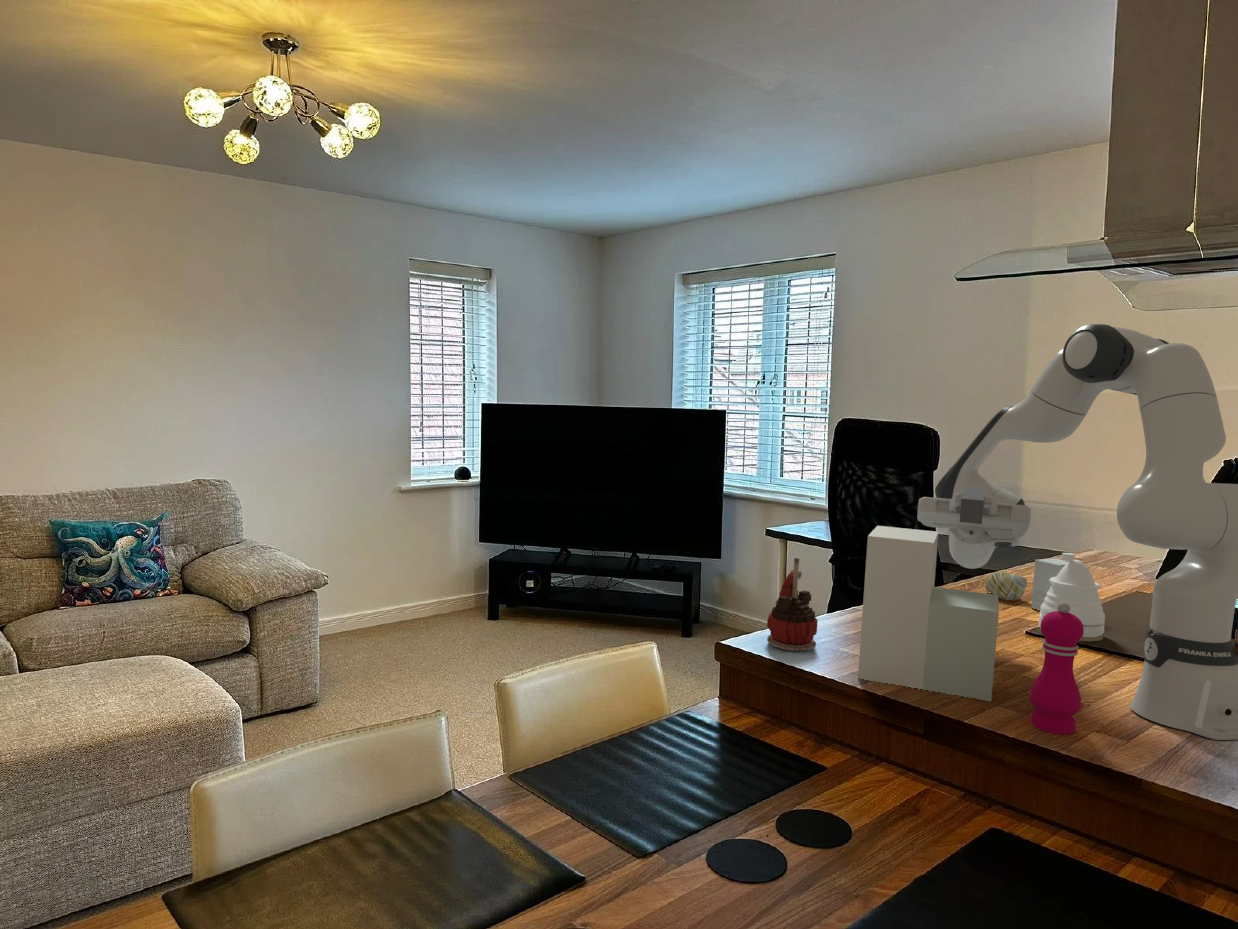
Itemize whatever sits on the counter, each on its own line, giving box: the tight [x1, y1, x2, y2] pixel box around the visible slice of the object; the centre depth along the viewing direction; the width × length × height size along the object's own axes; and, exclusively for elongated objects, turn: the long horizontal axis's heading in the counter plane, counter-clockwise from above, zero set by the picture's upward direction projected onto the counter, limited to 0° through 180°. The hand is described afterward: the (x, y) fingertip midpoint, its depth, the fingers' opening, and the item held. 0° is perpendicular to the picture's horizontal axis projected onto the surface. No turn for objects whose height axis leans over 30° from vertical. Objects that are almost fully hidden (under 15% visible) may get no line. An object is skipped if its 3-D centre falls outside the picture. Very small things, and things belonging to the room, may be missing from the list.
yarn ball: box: [985, 570, 1028, 601], centre depth 221 cm, size 10×10×10 cm
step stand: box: [857, 525, 1000, 702], centre depth 153 cm, size 14×22×26 cm, turn 66°
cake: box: [766, 557, 819, 651], centre depth 170 cm, size 11×9×18 cm
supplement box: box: [1031, 558, 1069, 610], centre depth 208 cm, size 7×7×13 cm
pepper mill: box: [1029, 602, 1084, 735], centre depth 132 cm, size 7×7×20 cm
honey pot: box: [1038, 552, 1106, 637], centre depth 189 cm, size 13×13×18 cm
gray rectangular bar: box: [960, 488, 985, 524], centre depth 153 cm, size 22×4×4 cm, turn 156°
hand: (973, 498), depth 159 cm, fingers closed on gray rectangular bar, 3 cm apart
